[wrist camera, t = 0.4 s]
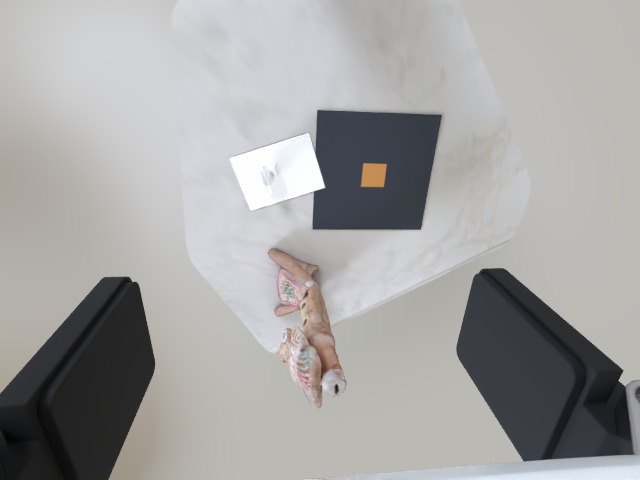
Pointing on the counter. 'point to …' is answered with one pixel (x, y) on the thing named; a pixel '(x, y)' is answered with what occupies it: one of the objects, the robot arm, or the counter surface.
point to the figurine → (307, 331)
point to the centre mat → (373, 169)
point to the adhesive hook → (278, 172)
